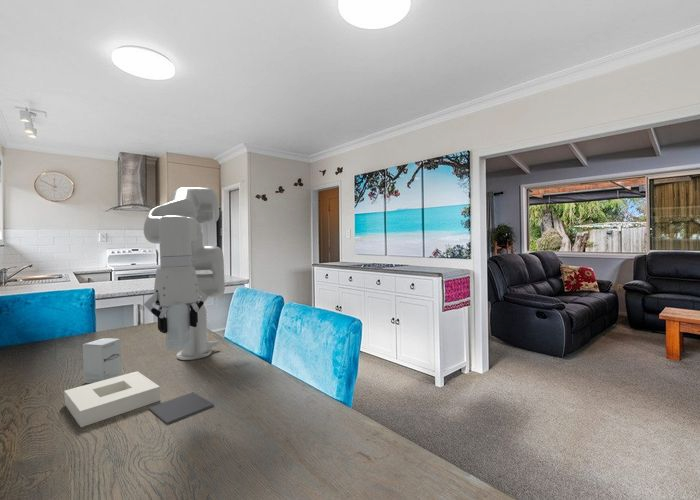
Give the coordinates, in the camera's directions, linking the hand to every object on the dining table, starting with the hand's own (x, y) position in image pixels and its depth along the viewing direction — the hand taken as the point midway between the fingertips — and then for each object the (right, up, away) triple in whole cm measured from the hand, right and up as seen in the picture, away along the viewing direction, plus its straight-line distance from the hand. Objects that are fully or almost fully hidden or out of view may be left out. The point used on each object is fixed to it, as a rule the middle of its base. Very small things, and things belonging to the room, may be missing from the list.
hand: (178, 328), depth 93 cm
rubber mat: (0, -21, +1) cm, 21 cm away
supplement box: (-35, -22, +21) cm, 46 cm away
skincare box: (0, -5, 0) cm, 5 cm away
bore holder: (-20, -22, +4) cm, 30 cm away
